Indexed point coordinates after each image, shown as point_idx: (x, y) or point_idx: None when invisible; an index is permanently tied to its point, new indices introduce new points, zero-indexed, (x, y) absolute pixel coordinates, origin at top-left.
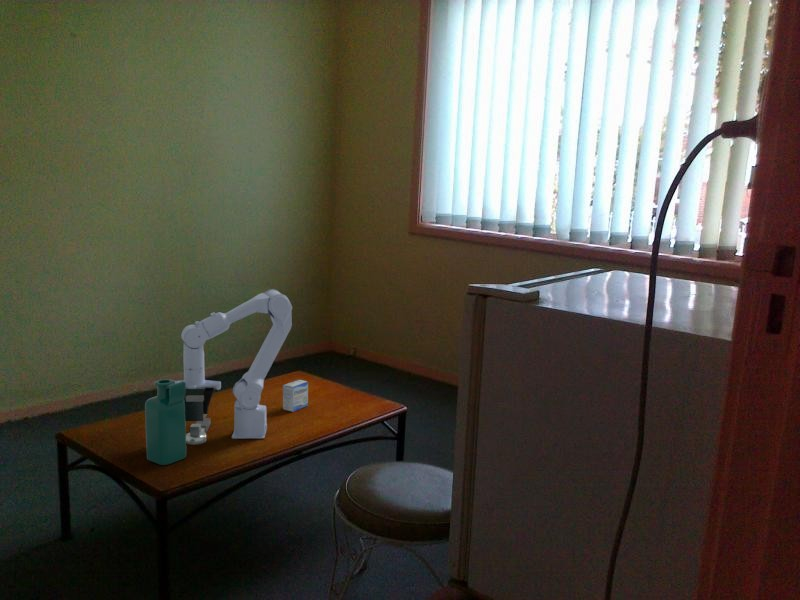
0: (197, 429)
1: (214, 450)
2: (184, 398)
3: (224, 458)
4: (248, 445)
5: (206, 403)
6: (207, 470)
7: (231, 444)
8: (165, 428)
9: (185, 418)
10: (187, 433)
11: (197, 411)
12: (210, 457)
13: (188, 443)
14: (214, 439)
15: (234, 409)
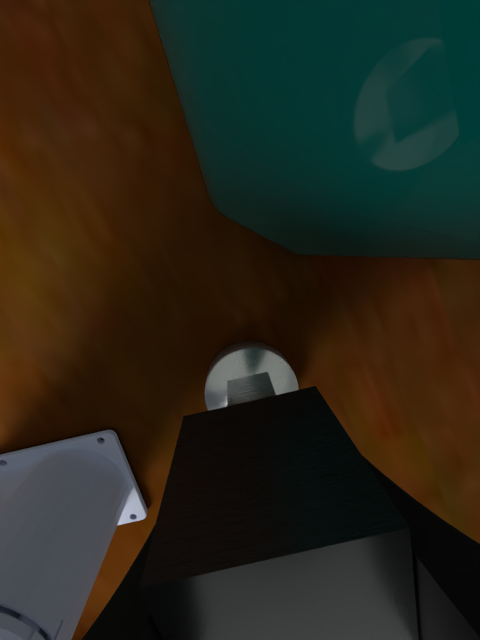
0: (236, 398)
1: (124, 302)
2: (421, 620)
3: (31, 222)
4: (12, 384)
5: (137, 580)
6: (26, 46)
7: (87, 378)
8: None
9: (305, 399)
10: None
11: (219, 461)
12: (100, 220)
13: (264, 343)
14: (182, 410)
15: (51, 601)
